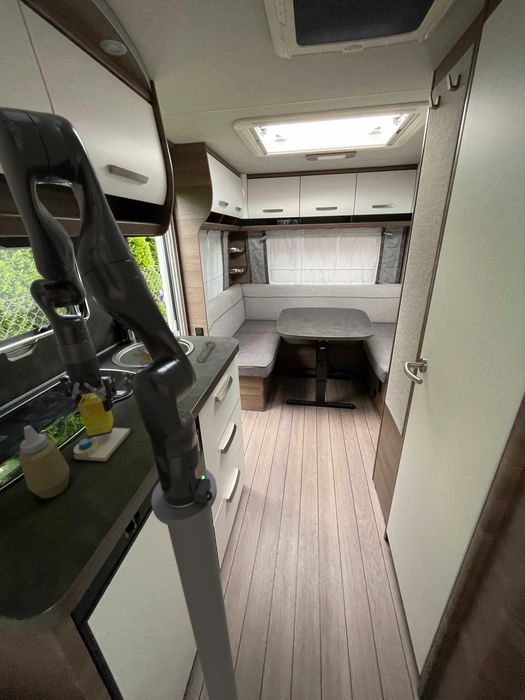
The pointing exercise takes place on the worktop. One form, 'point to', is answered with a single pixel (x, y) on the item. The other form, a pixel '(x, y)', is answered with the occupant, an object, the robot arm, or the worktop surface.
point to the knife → (206, 352)
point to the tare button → (84, 444)
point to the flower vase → (146, 354)
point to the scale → (102, 445)
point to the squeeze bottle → (43, 465)
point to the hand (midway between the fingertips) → (95, 409)
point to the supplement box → (95, 415)
